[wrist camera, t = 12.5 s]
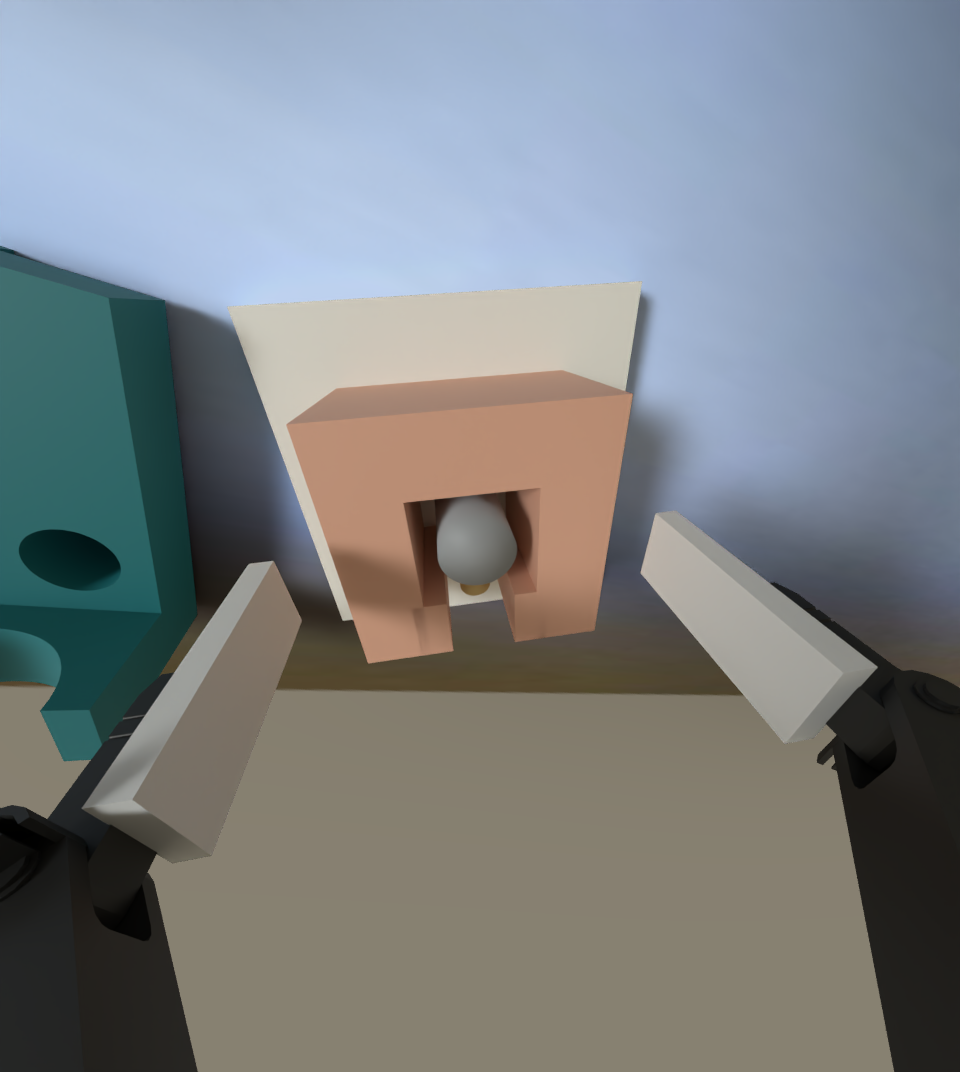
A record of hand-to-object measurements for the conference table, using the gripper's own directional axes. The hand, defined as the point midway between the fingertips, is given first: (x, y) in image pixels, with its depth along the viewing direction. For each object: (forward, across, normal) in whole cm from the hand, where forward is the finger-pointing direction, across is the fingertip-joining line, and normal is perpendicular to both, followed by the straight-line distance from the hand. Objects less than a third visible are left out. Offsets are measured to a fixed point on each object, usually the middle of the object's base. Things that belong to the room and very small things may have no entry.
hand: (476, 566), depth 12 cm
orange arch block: (+8, 0, -1) cm, 9 cm away
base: (+10, 0, -1) cm, 10 cm away
